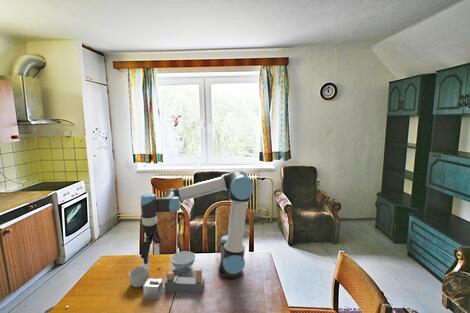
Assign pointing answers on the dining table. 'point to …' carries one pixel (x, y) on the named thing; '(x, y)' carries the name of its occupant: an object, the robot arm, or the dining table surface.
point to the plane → (185, 282)
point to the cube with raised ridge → (153, 287)
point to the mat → (153, 297)
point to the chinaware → (183, 260)
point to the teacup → (138, 276)
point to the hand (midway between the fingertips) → (152, 261)
